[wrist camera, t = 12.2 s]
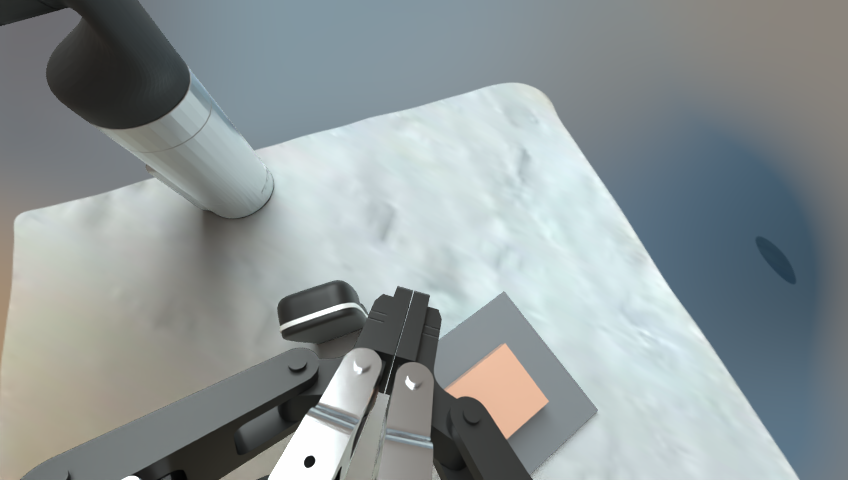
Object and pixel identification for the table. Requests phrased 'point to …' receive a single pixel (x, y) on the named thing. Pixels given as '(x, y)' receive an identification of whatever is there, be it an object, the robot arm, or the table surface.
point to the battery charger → (321, 313)
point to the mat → (561, 390)
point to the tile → (501, 389)
